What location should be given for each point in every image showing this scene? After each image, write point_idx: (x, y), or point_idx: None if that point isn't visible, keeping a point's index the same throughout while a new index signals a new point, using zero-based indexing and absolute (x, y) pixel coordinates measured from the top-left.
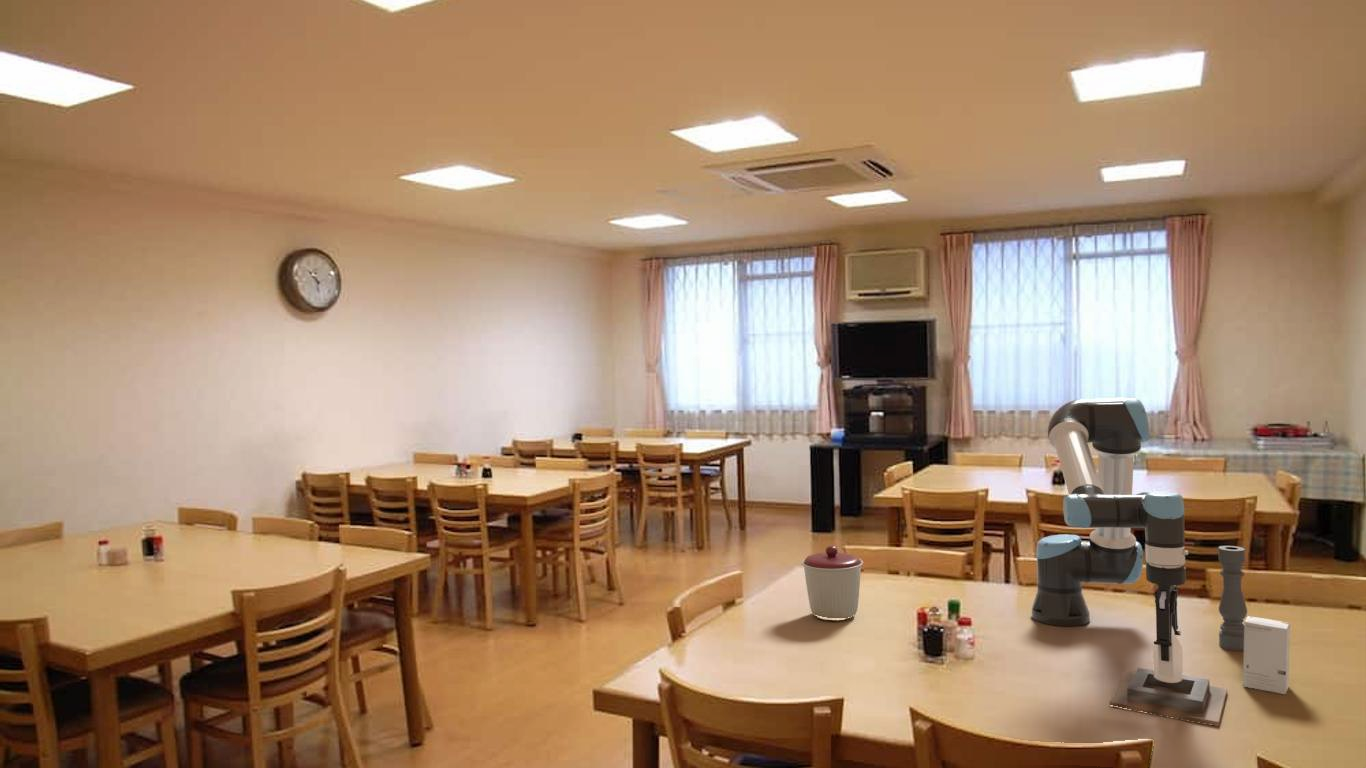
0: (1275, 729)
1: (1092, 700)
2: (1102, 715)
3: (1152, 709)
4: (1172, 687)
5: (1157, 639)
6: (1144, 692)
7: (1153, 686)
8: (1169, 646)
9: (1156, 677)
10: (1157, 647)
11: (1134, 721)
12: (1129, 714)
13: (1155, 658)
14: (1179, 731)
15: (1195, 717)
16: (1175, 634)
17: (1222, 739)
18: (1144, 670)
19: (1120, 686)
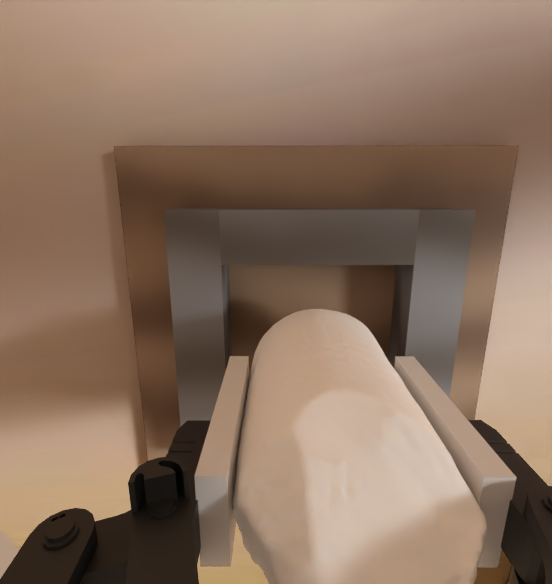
0: (223, 576)
1: (150, 68)
2: (18, 140)
3: (135, 303)
4: (390, 339)
5: (10, 570)
6: (169, 281)
7: (382, 274)
8: (201, 543)
9: (273, 327)
10: (257, 432)
11: (39, 254)
12: (92, 229)
13: (277, 367)
14: (51, 384)
15: (146, 426)
16: (512, 571)
17: (70, 482)
18: (450, 242)
19: (321, 154)
